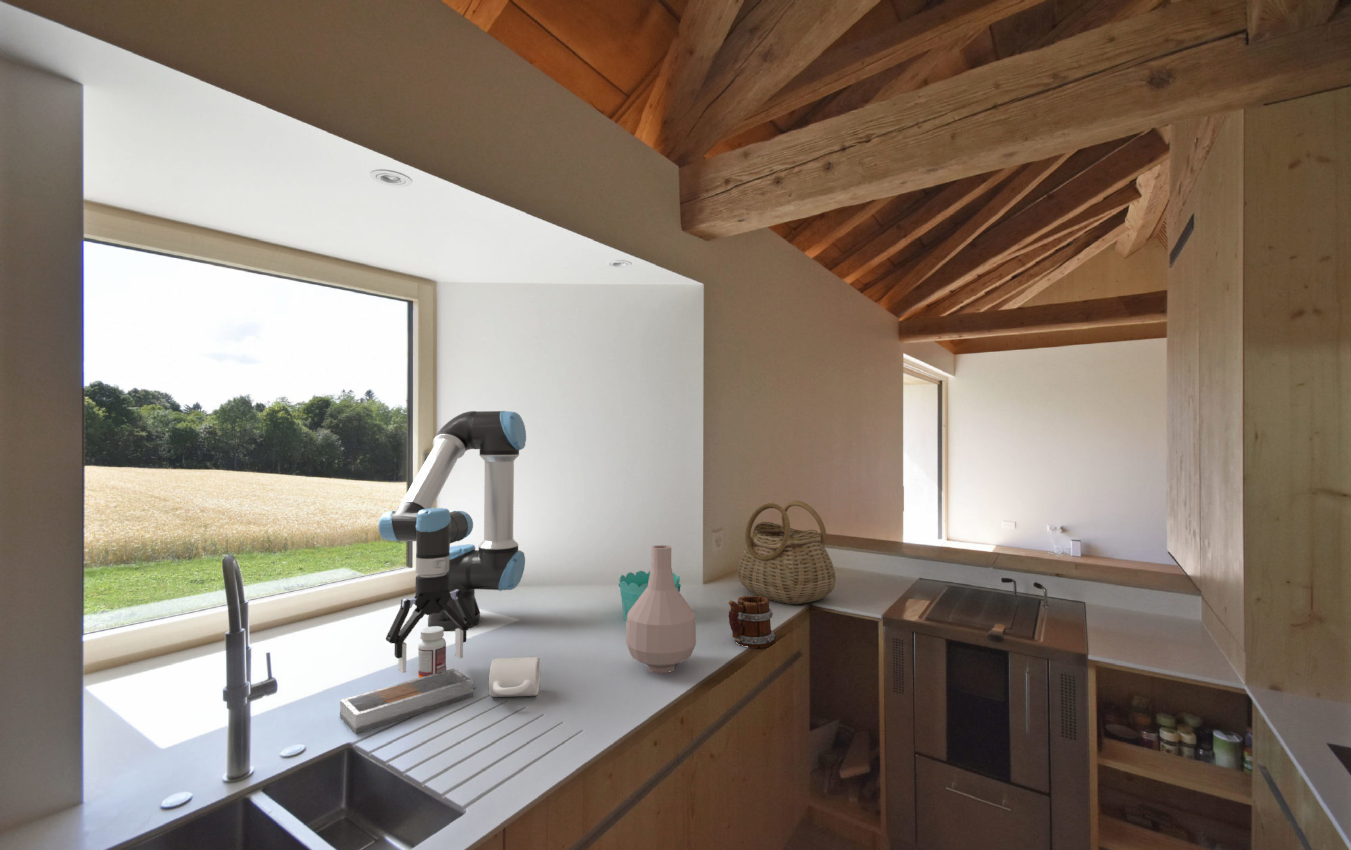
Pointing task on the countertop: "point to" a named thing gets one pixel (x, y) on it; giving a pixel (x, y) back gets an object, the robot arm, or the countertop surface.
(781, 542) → the basket
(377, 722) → the tray
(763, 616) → the mug
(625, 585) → the bucket
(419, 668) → the pill bottle
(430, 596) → the robot arm
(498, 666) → the mug
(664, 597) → the vase
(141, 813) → the countertop surface
